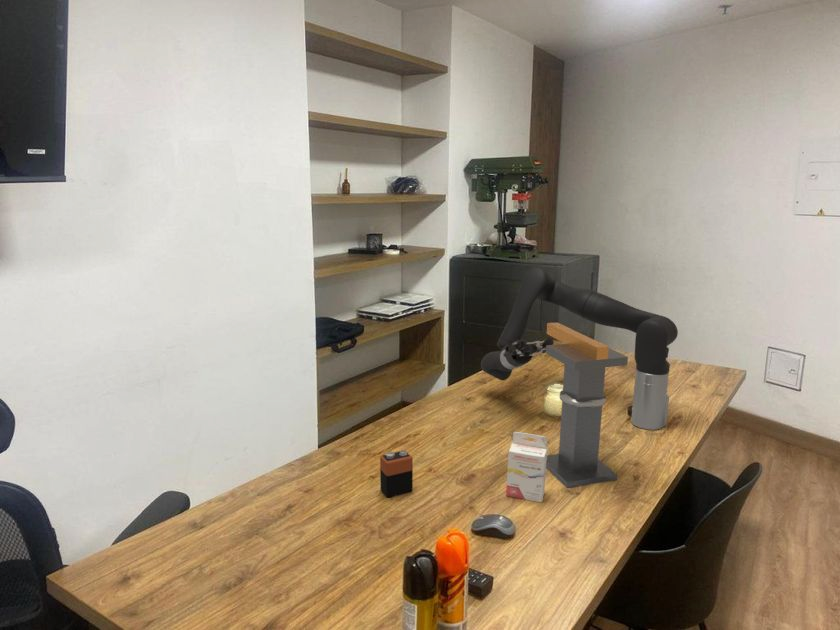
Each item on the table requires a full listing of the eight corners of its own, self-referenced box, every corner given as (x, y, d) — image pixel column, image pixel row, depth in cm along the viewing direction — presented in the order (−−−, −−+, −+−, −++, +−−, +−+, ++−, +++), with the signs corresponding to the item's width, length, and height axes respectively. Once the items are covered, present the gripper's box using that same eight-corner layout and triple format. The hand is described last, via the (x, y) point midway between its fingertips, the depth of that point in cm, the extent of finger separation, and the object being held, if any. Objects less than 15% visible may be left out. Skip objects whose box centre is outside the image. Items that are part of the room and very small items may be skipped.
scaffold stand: (586, 454, 159) (594, 341, 151) (616, 479, 146) (627, 357, 138) (539, 461, 155) (546, 345, 148) (566, 487, 142) (575, 361, 135)
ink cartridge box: (505, 496, 138) (507, 438, 135) (509, 486, 143) (511, 430, 139) (542, 503, 135) (545, 444, 132) (545, 492, 140) (548, 435, 137)
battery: (379, 489, 141) (379, 451, 139) (405, 483, 144) (405, 445, 142) (387, 498, 137) (386, 459, 135) (413, 491, 140) (413, 453, 138)
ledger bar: (556, 333, 159) (557, 322, 159) (607, 358, 137) (608, 346, 136) (546, 333, 159) (547, 323, 158) (596, 359, 136) (597, 347, 135)
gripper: (492, 345, 181) (512, 331, 166) (534, 341, 185) (557, 327, 170) (496, 368, 179) (517, 356, 164) (538, 365, 183) (563, 352, 168)
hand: (538, 342), depth 167 cm, fingers open, 8 cm apart
